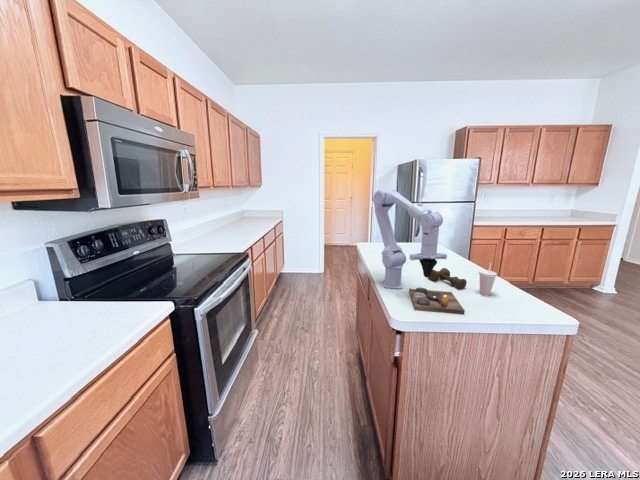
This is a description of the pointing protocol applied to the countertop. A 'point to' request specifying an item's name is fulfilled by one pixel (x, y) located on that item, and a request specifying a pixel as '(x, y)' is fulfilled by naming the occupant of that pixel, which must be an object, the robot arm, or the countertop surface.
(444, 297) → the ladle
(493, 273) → the smoothie
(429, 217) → the robot arm
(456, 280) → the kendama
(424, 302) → the base
